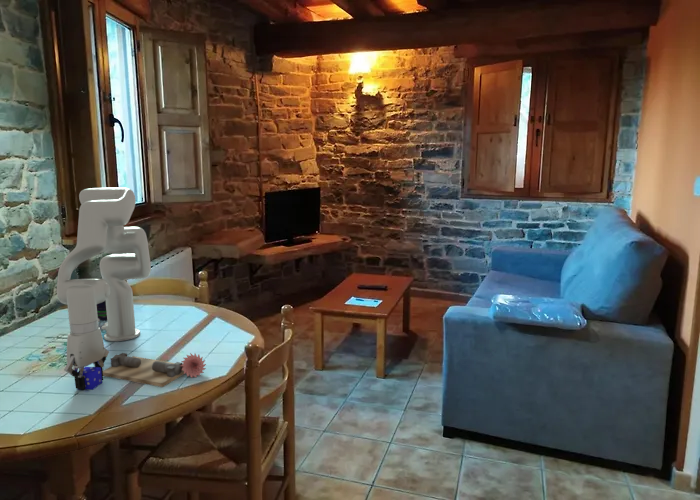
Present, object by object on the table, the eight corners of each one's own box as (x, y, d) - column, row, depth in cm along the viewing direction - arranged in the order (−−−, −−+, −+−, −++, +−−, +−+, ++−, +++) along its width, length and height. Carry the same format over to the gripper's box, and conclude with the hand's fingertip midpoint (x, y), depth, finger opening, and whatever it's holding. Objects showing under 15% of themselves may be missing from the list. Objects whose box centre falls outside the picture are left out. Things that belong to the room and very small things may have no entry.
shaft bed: (99, 375, 168) (98, 362, 167) (132, 359, 181) (131, 347, 180) (163, 387, 159) (162, 374, 158) (193, 369, 172) (192, 357, 171)
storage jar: (102, 313, 232) (99, 280, 230) (123, 314, 231) (120, 280, 228) (88, 320, 223) (85, 285, 220) (110, 321, 221) (107, 286, 219)
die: (87, 382, 163) (85, 366, 162) (102, 382, 162) (101, 367, 162) (77, 389, 158) (75, 373, 157) (93, 389, 158) (91, 373, 157)
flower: (182, 352, 171) (186, 347, 166) (206, 359, 173) (210, 355, 169) (174, 376, 167) (178, 372, 162) (199, 383, 169) (204, 379, 165)
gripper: (97, 317, 166) (102, 371, 169) (49, 334, 150) (55, 394, 154) (116, 319, 164) (121, 375, 167) (69, 337, 148) (75, 398, 151)
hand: (89, 383), depth 160 cm, fingers closed on die, 6 cm apart
